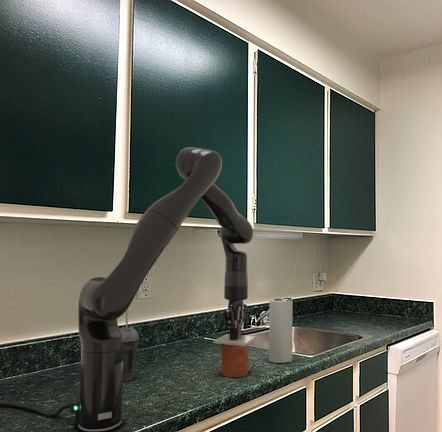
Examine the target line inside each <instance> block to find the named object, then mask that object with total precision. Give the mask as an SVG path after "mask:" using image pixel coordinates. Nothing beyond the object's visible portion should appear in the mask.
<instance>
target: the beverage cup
mask: <svg viewBox="0 0 442 432" xmlns="http://www.w3.org/2000/svg"><path fill="white" fill-rule="evenodd" d="M128 312H129V311H128V310H126V312H125V326H121V328H119V329H120V331H121V333H122V334H123V337H124V349H123V382H129V381H133V380H134V377H135V372H136V371H135V370H136V362H137V355H138V353H137V352H138V347H139V341H140V338H139V337H140V336H139V333H138V331H137V330H136V329H135V328H134V327H133V326H131V325H130V326H128V325H129V324H128V323H129V322H128V321H129V318H128V317H129V316H128V315H129V313H128Z"/></svg>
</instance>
